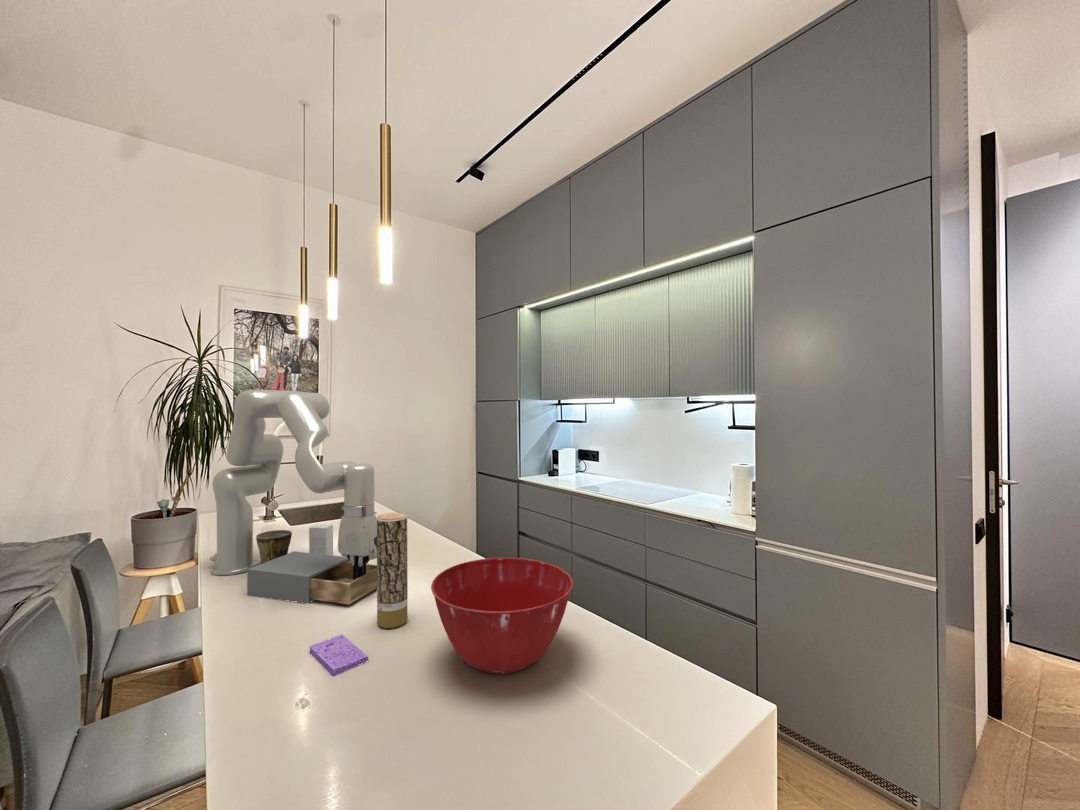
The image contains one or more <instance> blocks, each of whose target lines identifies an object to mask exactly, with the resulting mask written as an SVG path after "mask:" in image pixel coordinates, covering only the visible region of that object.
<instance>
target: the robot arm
mask: <svg viewBox="0 0 1080 810" xmlns="http://www.w3.org/2000/svg"><path fill="white" fill-rule="evenodd" d="M233 405H234V406H233V417H234V419H233V425H232V427H231V432H230V436H229V441H228V443H227V446H226V447H227V449H226V456H225V457H226V461H227V462H228V463H229V464H230V465H231V466H235V467H228V468H225V469H222V470H219V471H218V472H217V473H215V475H214V477H213V478H212V490H213V494H214V498H215V508H216V553H214V554H213V555H211V556H210V558H209V561H212V562H214V565H212V567H211V568H210V574H212V575H215V576H230V575H238V574H241V573H247V569H249V568H252V567H255V566H257V565H260V563H259V562H260V561H259V560H258V559H255V558H254V512H253V507H252V506H251V504H250V502H248V500H247V499H246V498H247V497H249V496H255V495H260V494H264V493H265V494H266V493H268V492H269V491H271V490H272V489H273V488H274V486H275V484H276V481H277V478H278V475H279V470H280V466H281V463H282V461H283V455H284V447H283V446H284V445H283V442H282V439H280V438H279V436H277V435H275V434H270V433H265V431H266V427H267V426H266V420H265V419H279V418H280V419H282V421H284V424H285V425H286V426H287V428H288V430H289V432H290V433H291V435H292V436H293V438H294V440H295V442H296V443H297V446H296V449H295V454H294V462H295V463H294V464H295V468H296V471H297V474H298V475H299V476H300V478H301V479H302V481H303V483H304V484H305V486H306V487H307V488H308V489H309V491H311V492H312V493H316V494H326V493H330V492H335V491H340V490H343V491H344V493H343V501H344V502H343V504H344V505H342V506H341V510H342V511H343V512H344V513H343V515H341V519H340V522H339V528H338V536H337V537H338V539H337V550H338V551H337V552H338V553H340V554H341V555H340V556H342V557H346V558H348V559H349V560H350V563H351V565H352V566H353V580H355V579H357V578H359V577H361V576H363V575H365V574H366V564H369V562H370V561H372V560H375V559H376V560H377V514H375V467H374V466H373V465H372V464H369V463H356V462H353V461H339V462H330V463H329V462H328V463H322V464H321V463H320V461H319V460H318V459H317V457H316V455H315V453H314V448H316V447H317V446H319V445H320V444H321V443H323V442H324V441H325V439H327V436H328V435H329V429H328V427H327V426H326V425H325V422H324V421H323V420H324V419H325V418H327V417H328V415H329V413H330V404H329V400H328V399H327V397H325V396H324V395H323V394H322V393H320V392H319V393H318V392H306V391H299V390H279V389H278V390H277V389H248V390H243V391H242V392H240V393H238V395H237V396H236V398H235V401H234V404H233Z"/></svg>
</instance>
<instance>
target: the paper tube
mask: <svg viewBox="0 0 1080 810" xmlns="http://www.w3.org/2000/svg"><path fill="white" fill-rule="evenodd" d="M376 517H377V558H376V565H377V588H376V614H377V615H376V621H377V622H376V623H377V625H378V626H379V627H380V628H382V629H395V628H399V627H401V626H403V625H404V624H405V623H406V622H407V621H408V618H409V617H408V602H409V601H408V599H409V598H408V589H409V587H408V586H409V585H408V584H409V583H408V513H405V512H386V513H383V514H378V515H376Z"/></svg>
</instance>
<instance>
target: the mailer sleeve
mask: <svg viewBox="0 0 1080 810" xmlns="http://www.w3.org/2000/svg"><path fill="white" fill-rule="evenodd" d="M344 562H350V560H349V559H348V558H346V557H344V556H342V555H339V556H338V555H334V554H333V555H323V554H314V553H309V552H304V551H303V552H302V551H292V552H290V553H287V554H286V555H284V556H281V557H278V558H276V559H273V560H270V561H268V562H265V563H263V564H262V563H259V565H257V566H255V567H252V568H249V569H247V571H246V573H247V575H246V576H247V577H246V578H247V579H246V580H247V584H246V585H247V590H246V591H247V593H246V594H247V596H249V597H250V596H251V597H256V596H257V598H263V597H265V598H264V599H270V598H272V599H271V600H276V599H281V600H280V601H283V600H289V601H288V602H290V601H297V602H303V603H302V604H304V603H309V604H311V603H312V602H311V601H313V600H314V599H310V578H311V577H314V576H316V575H318V574H320V573H322V572H324V571H326V570H329V569H331V568H333V567H335V566H337V565H339V564H342V563H344ZM297 602H296V603H297ZM310 602H311V603H310ZM313 602H314V601H313Z"/></svg>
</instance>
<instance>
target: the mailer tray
mask: <svg viewBox="0 0 1080 810" xmlns="http://www.w3.org/2000/svg"><path fill="white" fill-rule="evenodd" d="M375 589H376V590H377V564H370V563H367V564H366V574H365V575H363V576H361V577H359V578H357V579H355V580H353V566H352V565H351V563H350V562H344V563H342V564H339V565H337V566H335V567H333V568H331V569H329V570H326V571H324V572H322V573H320V574H318V575H316V576H314V577H311V578H310V599H314V600H315V601H321V602H329V603H336V604H341V605H342V604H343V605H351V604H353V603H354V602H356V601H358V600H359V599H361V598H363V597H364V596H365V595H368V594H369V593H371V592H372V591H374V590H375Z"/></svg>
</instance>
